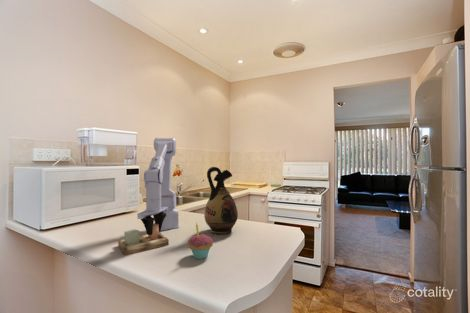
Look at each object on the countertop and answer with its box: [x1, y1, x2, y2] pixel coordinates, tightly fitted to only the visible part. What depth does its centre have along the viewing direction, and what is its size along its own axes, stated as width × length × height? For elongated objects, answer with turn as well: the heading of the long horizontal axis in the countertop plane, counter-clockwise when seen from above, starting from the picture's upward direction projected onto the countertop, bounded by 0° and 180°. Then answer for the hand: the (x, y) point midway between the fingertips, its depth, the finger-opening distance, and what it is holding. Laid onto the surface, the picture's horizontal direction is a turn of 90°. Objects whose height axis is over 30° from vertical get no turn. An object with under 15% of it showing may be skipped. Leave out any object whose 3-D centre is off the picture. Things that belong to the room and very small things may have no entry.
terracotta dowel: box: [148, 222, 159, 239], centre depth 93 cm, size 4×4×5 cm
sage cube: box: [123, 228, 141, 246], centre depth 88 cm, size 4×4×5 cm
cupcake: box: [187, 222, 214, 260], centre depth 80 cm, size 9×8×12 cm
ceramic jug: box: [203, 166, 239, 235], centre depth 107 cm, size 17×15×30 cm
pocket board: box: [117, 231, 170, 256], centre depth 90 cm, size 16×11×2 cm
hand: (153, 232), depth 92 cm, fingers closed on terracotta dowel, 4 cm apart
